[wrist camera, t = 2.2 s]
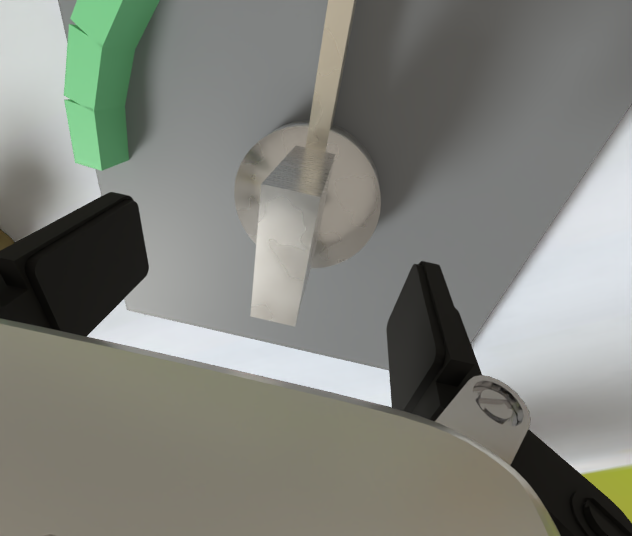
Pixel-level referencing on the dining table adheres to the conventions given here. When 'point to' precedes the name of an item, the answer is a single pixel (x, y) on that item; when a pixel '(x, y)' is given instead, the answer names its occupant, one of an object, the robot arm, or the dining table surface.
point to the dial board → (361, 122)
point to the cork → (5, 240)
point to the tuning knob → (307, 189)
